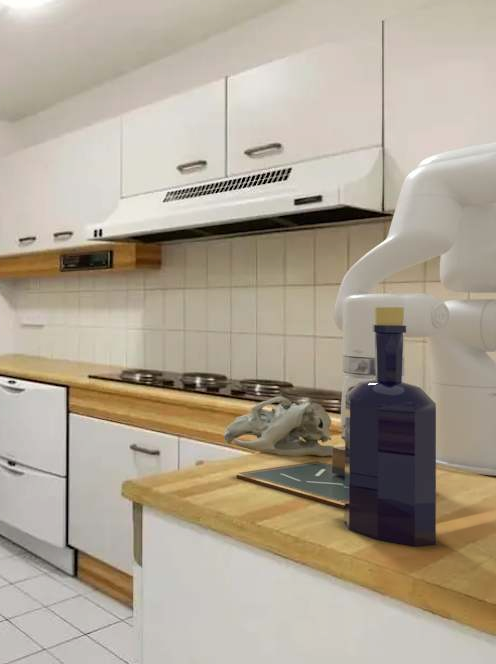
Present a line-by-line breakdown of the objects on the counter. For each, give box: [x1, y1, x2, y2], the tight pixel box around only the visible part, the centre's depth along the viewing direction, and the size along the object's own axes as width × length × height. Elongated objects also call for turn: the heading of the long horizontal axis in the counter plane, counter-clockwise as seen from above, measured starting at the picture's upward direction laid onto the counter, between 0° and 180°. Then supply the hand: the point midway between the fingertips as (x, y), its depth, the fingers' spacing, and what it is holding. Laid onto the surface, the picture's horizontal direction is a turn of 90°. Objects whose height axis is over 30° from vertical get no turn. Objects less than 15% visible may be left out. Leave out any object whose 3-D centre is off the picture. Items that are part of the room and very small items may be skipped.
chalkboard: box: [236, 460, 345, 511], centre depth 92 cm, size 22×16×1 cm
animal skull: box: [223, 396, 335, 457], centre depth 113 cm, size 18×12×13 cm
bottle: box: [343, 307, 438, 547], centre depth 73 cm, size 9×9×30 cm
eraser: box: [331, 445, 345, 476], centre depth 91 cm, size 4×9×4 cm, turn 20°
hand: (372, 475), depth 91 cm, fingers closed on eraser, 4 cm apart
